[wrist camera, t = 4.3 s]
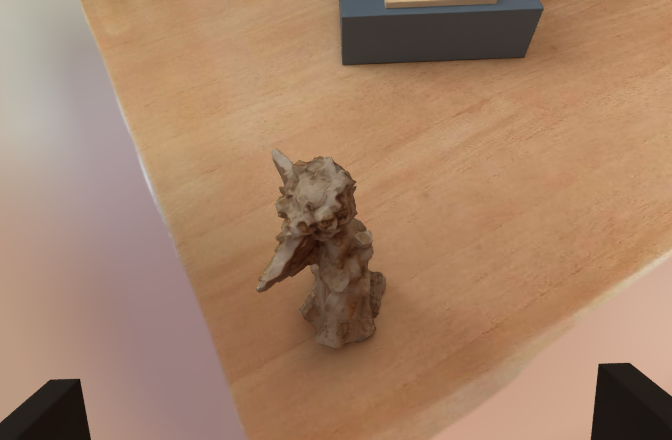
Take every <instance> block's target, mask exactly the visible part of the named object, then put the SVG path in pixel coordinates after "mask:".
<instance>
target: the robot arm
mask: <svg viewBox="0 0 672 440" xmlns="http://www.w3.org/2000/svg"><path fill="white" fill-rule="evenodd" d="M591 434H592V435H591V440H672V396H670V395H669V394H668V393H667V392H665V391H664V390H663V389H662V388H660V387H659V386H658V385H657V384H655V383H654V382H653V381H652V380H650V379H649V378H648V377H647V376H645V375H644V374H643V373H642V372H640V371H639V370H638V369H637V368H635V367H634V366H633V365H632V364H630V363H608V364H599V367H598V376H597V386H596V396H595V405H594V415H593V424H592V433H591ZM0 440H91V437H90V433H89V426H88V421H87V415H86V410H85V404H84V399H83V394H82V388H81V382H80V379H58V380H49V381H48V382H47V383H46V384H45V385H43V386H42V387H41V388H40V389H39V390H38V391H37V392H35V393H34V394H33V395H32V396H31V397H30V398H28V399H27V400H26V401H25V402H24V403H23V404H21V405H20V406H19V407H18V408H17V409H16V410H14V411H13V412H12V413H11V414H10V415H9V416H8V417H6V418H5V419H4V420H3V421H2V422H1V423H0Z"/></svg>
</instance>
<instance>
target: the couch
mask: <svg viewBox="0 0 672 440" xmlns="http://www.w3.org/2000/svg"><path fill="white" fill-rule="evenodd" d="M339 7H340V26H341V46H342V64H343V65H344V64H368V63H392V62H417V61H441V60H465V59H489V58H514V57H525V54H526V52H527V49H528V47H529V44H530V42H531V39H532V37H533V34H534V32H535V29H536V27H537V24H538V22H539V19H540V17H541V14H542V12H543V9H544V8H543V6H542V4H541V2H540V0H339Z"/></svg>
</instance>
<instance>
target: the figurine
mask: <svg viewBox="0 0 672 440" xmlns="http://www.w3.org/2000/svg"><path fill="white" fill-rule="evenodd" d="M272 158H273V161H274V163H275V166H276V167H277V169H278V171H279V173H280V175H281V178H282V180H283V183H284V185H285V186H284V187H279V189H280V191H281V193H282V194H283V195H284V196H282V197H279V199H278V200H277V202H276V203H275V206H276V209H277V213H278V217H281V218H284V219H285V220H284V222H283V224H282V227H281V228H282V231H283V232H281V233H280V234H279V235H278V236H276V238H277V240H278V241H279V242H280V243H279V245H278V246H277V247H276V249H275V252H276V254H275V255H274V257H273V258H272V260H271V261H270V263H269V264H268V266H267V268H266V269H265V271H264V273H263V276H262V277H260V278H259V281H260V283H259V285H258V287H257V289H256V290H257V291H258V292H259V293H260V292H263V291H266V290H268V289H269V288H270V287H271V286H273V285H274V284H275V283H276V282H281V281H282V280H284V279H285V278H287V277H288V276H291V277H292V276H294V275H296V274H297V273H298V272H300V271H301V270H303V269H304V268H305V267H306V266H307V265H311V271H312V273H313V274H314V275H315V276H316V277H317V278H316V282H315V283H314V284H313V289H312V292H311V294H310V295H309V296H307V298H306V301H305V303H304V304H303V305H302V306H301V307H300V309H299V310H300V313H301V314H302V315H303V316H304V319H305V320H307V321H309V322H310V323H311V324H312V325H313V326H314V327H315V328H316V329H317V330H318V332H317V334H316V341H317V342H318V343H319V344H323V345H325V346H328V347H331V348H333V349H336V350H339V349H341V348H342V346H343V344H344V343H349V342H359V341H363V340H364V339H366V338H367V337H368V336H370V335H372V334H373V332H374V331H375V330H376V327H375V325H374V321H373V318H376V316H377V315H378V314H379V308H380V304H381V303H380V296H381V293H382V291H383V290H384V289H385V286H386V278H385V277H384V276H383V274H382V273H380V272H371V271H369V270H368V261H369V260H370V259H371V258H372V255H373V247H372V234H371V232H370V230H369V231H366V227H365V226H364V224H363V223H362V222H361V221H359V220H357V219H355V218H354V217H355V215H356V214H357V211H356V204H355V200H354V196H353V193H354V191H355V189H356V186H353V185H354V184H355V183H356V182H357V181H354V180H352V178H351V176H350V174H349V172H348V171H345V170H344V169H343V168H342V167H341V166H339V165H338V164H336V163H335V162H334V161H333V159H332V157H327V158H323V157H321V156H319V157H317V158H314V159H313V160H312V161H310V162H303V161H300V160H299V161H298V162H296V163H295V164H293V163H292V162H291V160H290V159H288V158H287V157H286V156H285V155H284V154H283V153H281V152H280V151H279V150H278V149H276V148H275V149H273V151H272Z"/></svg>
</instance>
